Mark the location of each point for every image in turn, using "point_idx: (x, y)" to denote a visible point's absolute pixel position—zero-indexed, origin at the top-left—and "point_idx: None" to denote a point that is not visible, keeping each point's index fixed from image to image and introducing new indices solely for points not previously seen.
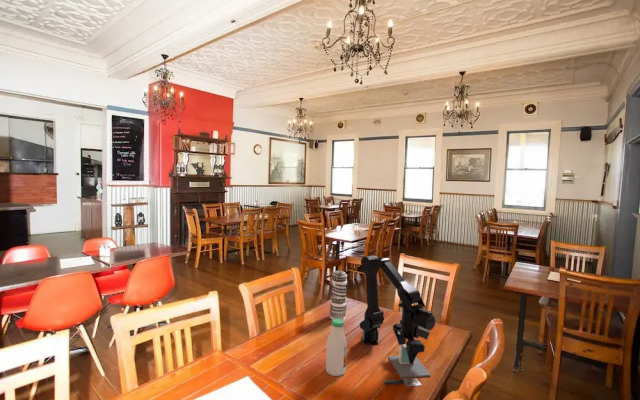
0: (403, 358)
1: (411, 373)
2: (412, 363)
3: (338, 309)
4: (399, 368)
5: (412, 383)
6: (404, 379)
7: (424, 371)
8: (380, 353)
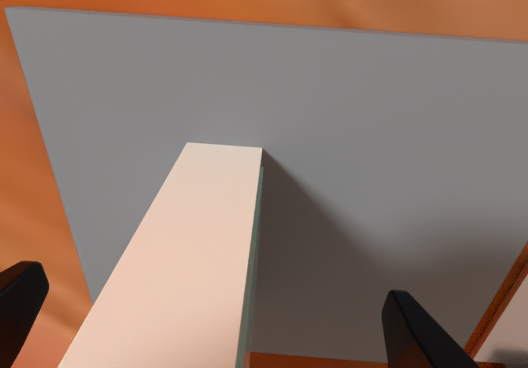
0: (251, 337)
1: (461, 279)
2: (409, 298)
3: None
4: (335, 336)
5: None
6: (492, 347)
7: (507, 105)
8: (47, 351)
